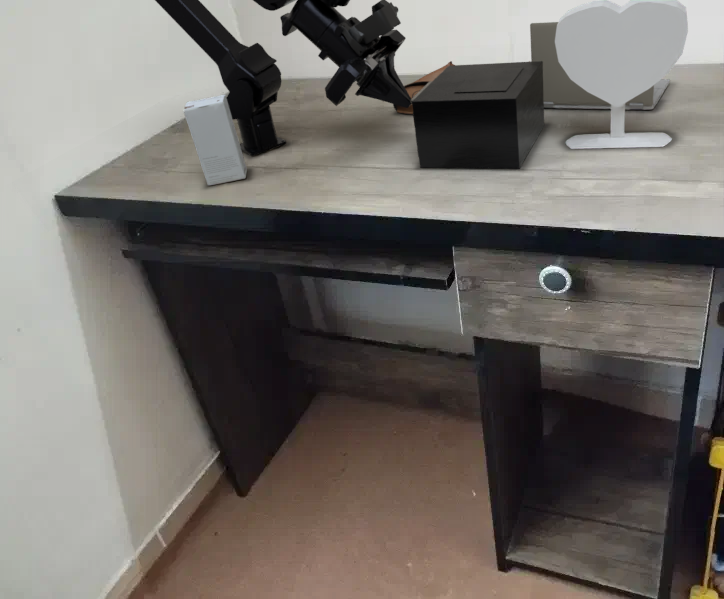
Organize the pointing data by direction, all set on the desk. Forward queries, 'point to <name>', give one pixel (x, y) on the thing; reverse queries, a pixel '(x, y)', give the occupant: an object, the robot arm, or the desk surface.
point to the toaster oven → (479, 115)
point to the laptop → (568, 93)
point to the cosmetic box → (215, 139)
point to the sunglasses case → (419, 88)
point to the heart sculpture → (620, 58)
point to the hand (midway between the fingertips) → (410, 105)
